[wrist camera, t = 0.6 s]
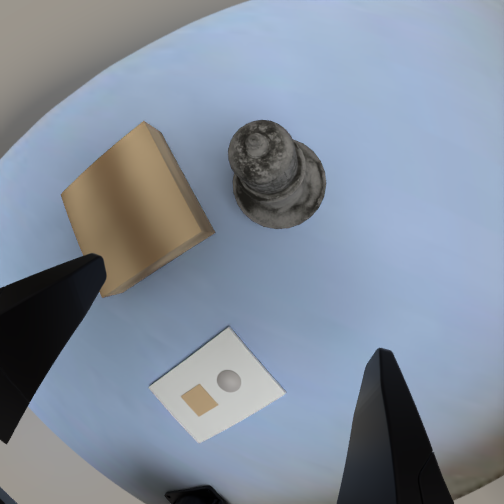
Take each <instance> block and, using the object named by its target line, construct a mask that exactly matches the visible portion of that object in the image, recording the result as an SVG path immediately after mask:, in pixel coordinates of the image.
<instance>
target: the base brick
mask: <svg viewBox="0 0 504 504" xmlns="http://www.w3.org/2000/svg"><path fill="white" fill-rule="evenodd" d="M61 197H62V200H63V203H64V206H65V209H66V212H67V214H68V217H69V220H70V223H71V225H72V228H73V231H74V233H75V236H76V239H77V241H78V244H79V246H80V249H81V251H82V253H83V256H84V255H87V254H90V253H95V254H98V255H100V256H102V257H103V259H104V264H105V268H106V273H107V278H106V281H105V283H104V285H103V286H102V288H101V290H100V291H99V292H100V294H101V296H102V298H104V297H108V296H112V295H116V294H120V293H123V292H125V291H126V290H128V289H129V288H131V287H132V286H134V285H135V284H137V283H138V282H140V281H141V280H143V279H144V278H146V277H147V276H149V275H150V274H152V273H153V272H155V271H156V270H158V269H159V268H161V267H163V266H164V265H166V264H167V263H169V262H170V261H172V260H173V259H175V258H176V257H178V256H180V255H181V254H183V253H184V252H186V251H187V250H189V249H191V248H192V247H194V246H195V245H197V244H198V243H200V242H202V241H203V240H205V239H206V238H208V237H210V236H211V235H213V234H214V233H215V231H214V229H213V227H212V226H211V224H210V222H209V220H208V218H207V217H206V215H205V213H204V211H203V209H202V207H201V206H200V204H199V202H198V200H197V198H196V196H195V195H194V193H193V191H192V189H191V187H190V185H189V184H188V182H187V180H186V178H185V176H184V174H183V173H182V171H181V169H180V167H179V165H178V163H177V161H176V160H175V158H174V156H173V154H172V152H171V150H170V148H169V146H168V145H167V143H166V141H165V139H164V137H163V135H162V133H161V132H160V131H158V130H157V129H155V128H154V127H152V126H151V125H149V124H148V123H146V122H145V121H143V122H142V123H141V124H139V125H138V126H137V127H136V128H134V129H133V130H132V131H130V132H129V133H128V134H127V135H126V136H124V137H123V138H122V139H121V140H119V141H118V142H117V143H116V144H115V145H113V146H112V147H111V148H110V149H109V150H108V151H106V152H105V153H104V154H103V155H102V156H101V157H100V158H98V159H97V160H96V161H95V162H94V163H93V164H92V165H91V166H90V167H88V168H87V169H86V170H85V171H84V172H83V173H82V174H81V175H80V176H79V177H78V178H77V179H76V180H75V181H74V182H73V183H72V184H71V185H70V186H69V187H67V188H66V189H65V190H64V191H63V192H62V193H61Z"/></svg>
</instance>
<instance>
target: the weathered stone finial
mask: <svg viewBox="0 0 504 504" xmlns="http://www.w3.org/2000/svg"><path fill="white" fill-rule="evenodd" d="M228 158H229V162H230V165H231V168H232V170H233V171H234V177H233V193H234V195H235V198H236V201H237V204H238V205H239V207H240V208H241V210H242V211H243V213H244V214H245V215H246V216H247V217H249V218H250V219H251V220H252V221H253V222H255V223H257V224H260V225H262V226H264V227H268V228H274V229H283V228H290V227H293V226H296V225H299V224H301V223H303V222H304V221H306V220H307V219H309V218H310V217H311V216H312V215H313V214H314V213H315V212H316V210H317V209H318V208H319V206H320V204H321V202H322V200H323V198H324V194H325V188H326V178H325V171H324V169H323V166H322V163H321V161H320V160H319V158H318V157H317V156H316V154H315V153H314V152H313V151H312V150H311V149H310V148H308V147H307V146H306V145H304V144H303V143H300V142H298V141H296V140H293V139H292V137H291V136H290V134H289V133H288V132H287V130H286V129H284V128H283V127H282V126H280V125H279V124H277V123H275V122H272V121H267V120H258V121H253V122H250V123H248V124H246V125H244V126H243V127H241V128H240V129H239V130H238V131H237V132H236V133H235V134H234V136H233V138H232V140H231V142H230V145H229V149H228Z"/></svg>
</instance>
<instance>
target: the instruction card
mask: <svg viewBox="0 0 504 504" xmlns="http://www.w3.org/2000/svg"><path fill="white" fill-rule="evenodd" d="M148 388H149V389H150V390H151V391H152V392H153V394H154V395H155V396H156V397H157V398H158V400H159V401H160V402H161V403H162V404H163V405H164V406H165V408H166V409H167V410H168V411H169V412H170V413H171V414H172V416H173V417H174V418H175V419H176V420H177V421H178V422H179V423H180V424H181V425H182V426H183V427H184V429H185V430H186V431H187V432H188V433H189V434H190V435H191V436H192V437H193V438H194V439H195V440H196V441H197V442H198V443H201V442H203V441H205V440H207V439H209V438H211V437H213V436H214V435H216V434H218V433H220V432H222V431H224V430H226V429H227V428H229V427H231V426H233V425H235V424H236V423H238V422H240V421H242V420H243V419H245V418H247V417H249V416H250V415H252V414H254V413H255V412H257V411H259V410H260V409H262V408H264V407H265V406H267V405H269V404H270V403H272V402H273V401H275V400H277V399H278V398H280V397H281V396H283V395H284V394H286V391H285V390H284V389H283V388H282V387H281V386H280V384H279V383H278V382H277V381H276V380H275V379H274V378H273V377H272V375H271V374H270V373H269V372H268V371H267V370H266V369H265V367H264V366H263V365H262V364H261V363H260V362H259V360H258V359H257V358H256V357H255V356H254V355H253V354H252V352H251V351H250V350H249V349H248V348H247V346H246V345H245V344H244V343H243V342H242V341H241V339H240V338H239V337H238V336H237V335H236V333H235V332H234V331H233V330H232V329H231V327H230V326H229V327H228V328H226V329H225V330H224V331H223V332H221V333H220V334H219V335H217V336H216V337H215V338H213V339H212V340H211V341H210V342H208V343H207V344H206V345H204V346H203V347H202V348H200V349H199V350H198V351H196V352H195V353H194V354H192V355H191V356H190V357H188V358H187V359H186V360H184V361H183V362H182V363H180V364H179V365H178V366H176V367H175V368H174V369H172V370H171V371H170V372H168V373H167V374H166V375H164V376H163V377H162V378H160V379H159V380H157V381H156V382H155V383H153V384H152V385H151V386H149V387H148Z"/></svg>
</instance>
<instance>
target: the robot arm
mask: <svg viewBox="0 0 504 504" xmlns="http://www.w3.org/2000/svg"><path fill="white" fill-rule="evenodd" d="M106 278H107V273H106V268H105V264H104V259H103V257H102V256H100V255H98V254H95V253H90V254H87V255H84V256H82V257H79V258H76V259H73V260H71V261H68V262H65V263H63V264H60V265H57V266H55V267H52V268H50V269H47V270H44V271H42V272H39V273H37V274H34V275H32V276H29V277H27V278H24V279H22V280H19V281H17V282H14V283H12V284H9V285H7V286H5V287H2V288H0V440H1V441H3V442H4V443H5V444H7V443H8V441H9V440H10V438H11V436H12V434H13V432H14V430H15V428H16V427H17V425H18V423H19V421H20V419H21V417H22V416H23V414H24V412H25V410H26V408H27V407H28V405H29V402H30V401H31V399H32V398H33V396H34V394H35V393H36V391H37V389H38V388H39V386H40V384H41V383H42V381H43V379H44V378H45V376H46V374H47V373H48V371H49V370H50V368H51V366H52V365H53V363H54V362H55V360H56V359H57V357H58V356H59V354H60V352H61V351H62V349H63V348H64V346H65V345H66V343H67V342H68V340H69V339H70V337H71V336H72V334H73V333H74V331H75V330H76V329H77V327H78V326H79V324H80V323H81V321H82V320H83V318H84V317H85V315H86V314H87V312H88V310H89V309H90V307H91V305H92V303H93V302H94V300H95V298H96V296H97V295H98V293H99V291H100V290H101V288H102V286H103V285H104V283H105V281H106ZM432 451H433V449H432V447H431V444H430V441H429V438H428V436H427V433H426V431H425V428H424V425H423V423H422V420H421V418H420V415H419V413H418V410H417V408H416V405H415V403H414V400H413V398H412V396H411V393H410V391H409V389H408V386H407V384H406V382H405V379H404V377H403V375H402V372H401V370H400V368H399V366H398V363H397V361H396V359H395V357H394V355H393V353H392V351H391V350H387V349H383V348H378V349H377V350H376V351H375V353H374V354H373V356H372V357H371V359H370V360H369V362H368V363H367V365H366V367H365V371H364V375H363V380H362V384H361V388H360V392H359V396H358V400H357V404H356V408H355V412H354V417H353V422H352V429H351V435H350V441H349V447H348V452H347V458H346V463H345V468H344V473H343V478H342V482H341V487H340V491H339V496H338V500H337V504H454V502H453V500H452V497H451V495H450V493H449V491H448V488H447V486H446V484H445V481H444V479H443V476H442V474H441V471H440V468H439V466H438V463H437V460H436V457H435V455H434V452H432ZM208 490H209V491H208ZM165 497H166V498H167V499H168V500H169V502H170V503H171V504H226V503H225V502H224V500H223V499H222V498H221V497H220V496H219V495H218V494H217V493H216V492H215V491H214V489H213V488H212V487H209V486H204V487H199V488H193V489H186V490H179V491H171V492H166V494H165ZM0 504H17V503H16V502H15V501H14V500H13V499H12V498H11V497H10V496H9V495H8V494H7V493H6V492H5V491H4V490H3V489H2V488H1V487H0Z"/></svg>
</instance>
